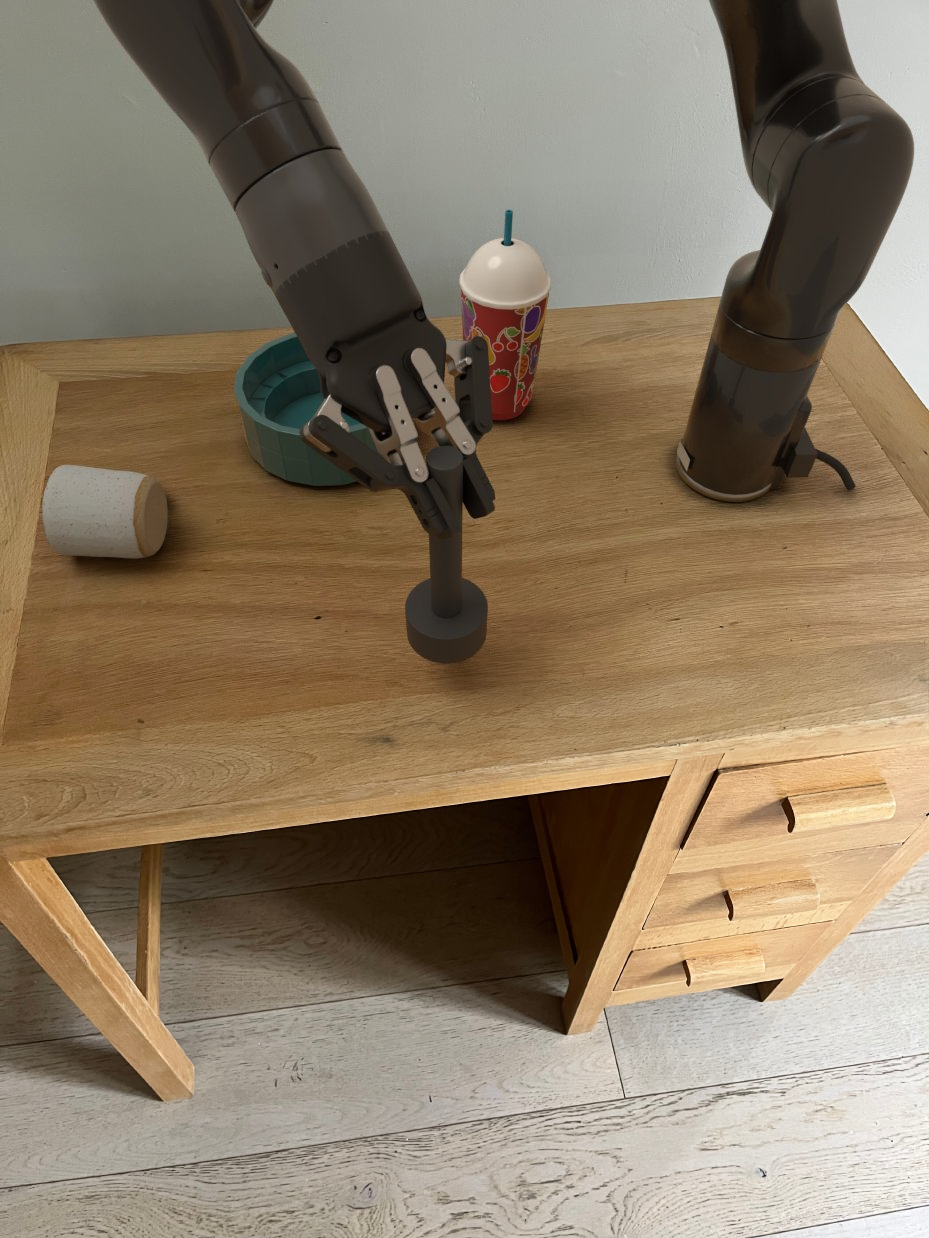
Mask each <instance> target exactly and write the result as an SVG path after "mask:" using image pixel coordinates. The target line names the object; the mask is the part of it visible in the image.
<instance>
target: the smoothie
mask: <svg viewBox="0 0 929 1238" xmlns="http://www.w3.org/2000/svg"><path fill="white" fill-rule="evenodd" d="M513 216H514V211H513V210H512V209H506V210H505V211H504V229H503V237H498V238H494V239H492V240H491V239H490V240H489V241H487V242H485V243H484V244H482V245H481V246H479V248H478V249H476V250H475V252H474V253H473V254H472V256H471V257H470V259H469V260H468V262H467V264H466V266H465V267H464V269H463V270H462V271H461V273H460V274H459V281H458V283H459V288H460V305H461V307H460V308H461V326H462V341H468V340H471V339H472V338H474V337H476V336H481V337H483V338H484V339H485V340H486V342H487V344H488V355H489V372H490V389H491V406H492V421H506V420H507V421H508V420H512V419H514V418H517V417H519V416H520V415H521V414H523V412H524V411H525V409H526V407H527V406H528V405H529V404H530V403H531V400H532V398H533V395H534V394H533V393H534V388H535V382H536V377H537V376H536V375H537V371H538V364H539V358H540V352H541V346H542V339H543V334H544V327H545V322H546V316H547V309H548V304H549V298H550V291H551V289H552V278H551V276H550V274H549V273H548V271H547V269H546V267H545V264H544V262H543V261H542V258H541V257H540V255H539V253H537V251H536V249H534V248H533V247H532V246H530V245H529V244H528V243H527V242H525V241H522V240H520V239H519V238H514V237H512V235H513V219H514V217H513Z"/></svg>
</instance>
